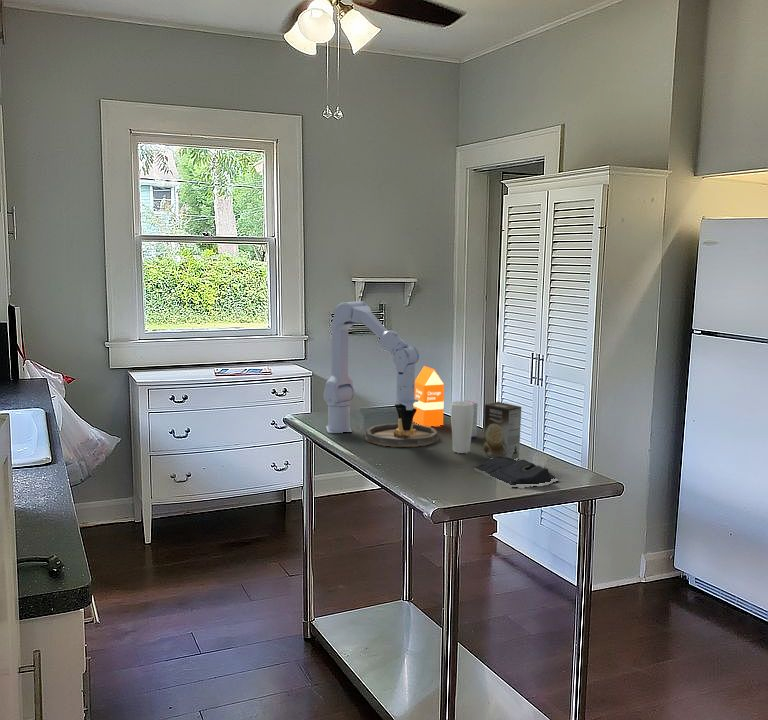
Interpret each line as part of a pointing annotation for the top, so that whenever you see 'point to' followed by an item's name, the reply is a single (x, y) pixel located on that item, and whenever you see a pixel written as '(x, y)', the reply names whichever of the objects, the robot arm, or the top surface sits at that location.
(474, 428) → the supplement box
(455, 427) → the drinking glass
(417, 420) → the orange juice
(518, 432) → the coffee box
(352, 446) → the top surface
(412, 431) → the planet gear
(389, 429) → the wooden tray
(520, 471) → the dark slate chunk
